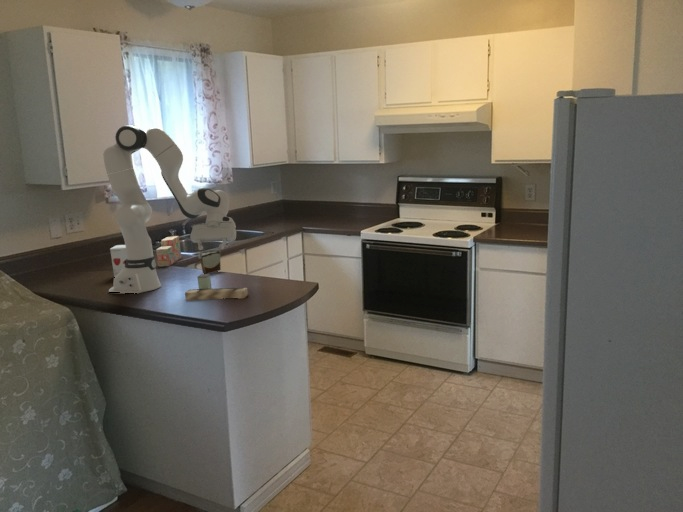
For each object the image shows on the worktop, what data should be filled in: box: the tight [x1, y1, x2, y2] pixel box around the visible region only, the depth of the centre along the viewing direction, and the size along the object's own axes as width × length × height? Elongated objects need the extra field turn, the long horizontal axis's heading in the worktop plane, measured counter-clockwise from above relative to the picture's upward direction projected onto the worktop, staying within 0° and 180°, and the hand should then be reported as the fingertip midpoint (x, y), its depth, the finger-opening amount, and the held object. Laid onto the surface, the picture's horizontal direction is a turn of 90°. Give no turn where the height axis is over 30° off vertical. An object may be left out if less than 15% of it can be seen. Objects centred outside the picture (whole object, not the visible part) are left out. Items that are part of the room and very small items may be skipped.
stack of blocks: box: [155, 235, 183, 267], centre depth 323 cm, size 21×6×12 cm, turn 178°
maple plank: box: [184, 287, 249, 301], centre depth 248 cm, size 25×5×3 cm, turn 82°
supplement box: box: [109, 244, 127, 278], centre depth 297 cm, size 9×9×15 cm
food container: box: [197, 249, 222, 274], centre depth 294 cm, size 12×6×10 cm, turn 141°
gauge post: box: [197, 273, 213, 289], centre depth 254 cm, size 4×4×8 cm
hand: (210, 249), depth 262 cm, fingers open, 8 cm apart
